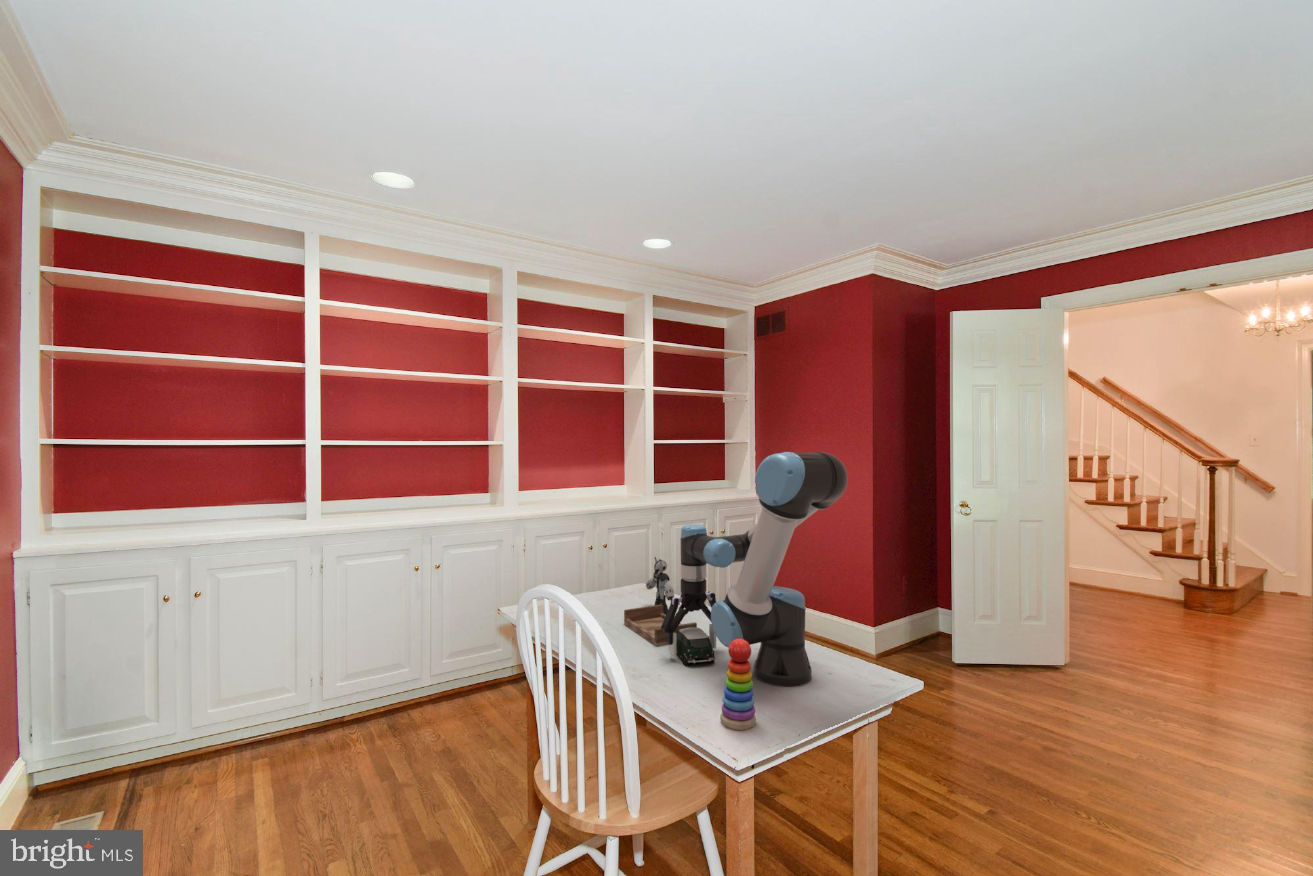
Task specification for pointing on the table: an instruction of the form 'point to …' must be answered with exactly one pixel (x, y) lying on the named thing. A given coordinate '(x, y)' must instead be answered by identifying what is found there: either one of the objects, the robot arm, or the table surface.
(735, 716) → the stacking toy
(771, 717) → the table surface
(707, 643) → the miniature car
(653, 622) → the cradle
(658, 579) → the robot
